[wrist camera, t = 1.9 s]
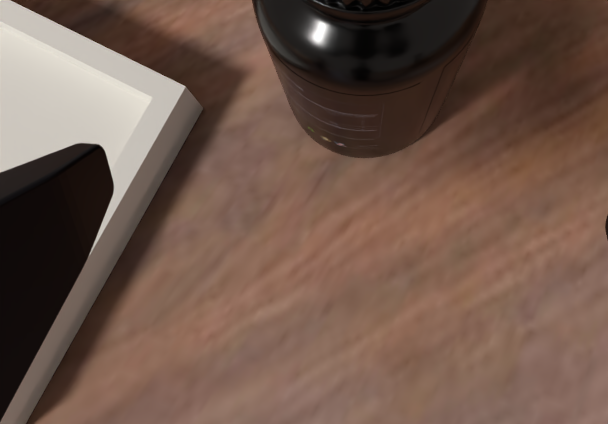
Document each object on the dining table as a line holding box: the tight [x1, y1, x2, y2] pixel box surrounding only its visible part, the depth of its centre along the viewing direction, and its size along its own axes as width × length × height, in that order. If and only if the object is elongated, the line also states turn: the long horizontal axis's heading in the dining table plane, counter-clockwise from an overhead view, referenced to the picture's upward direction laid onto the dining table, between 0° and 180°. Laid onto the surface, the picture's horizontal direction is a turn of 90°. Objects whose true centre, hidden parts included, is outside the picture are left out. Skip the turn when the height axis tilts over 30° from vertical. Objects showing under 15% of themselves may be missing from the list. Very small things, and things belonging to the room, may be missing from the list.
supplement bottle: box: [252, 0, 487, 158], centre depth 17 cm, size 7×7×12 cm
